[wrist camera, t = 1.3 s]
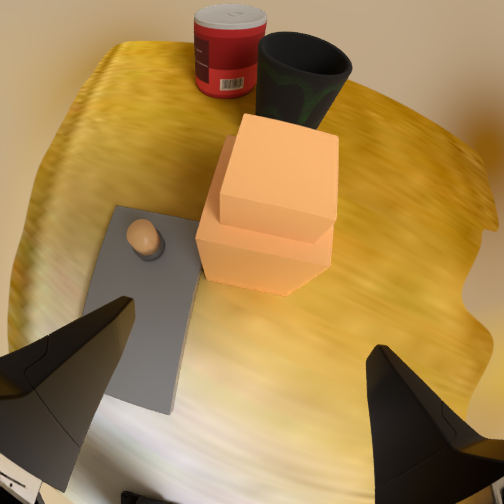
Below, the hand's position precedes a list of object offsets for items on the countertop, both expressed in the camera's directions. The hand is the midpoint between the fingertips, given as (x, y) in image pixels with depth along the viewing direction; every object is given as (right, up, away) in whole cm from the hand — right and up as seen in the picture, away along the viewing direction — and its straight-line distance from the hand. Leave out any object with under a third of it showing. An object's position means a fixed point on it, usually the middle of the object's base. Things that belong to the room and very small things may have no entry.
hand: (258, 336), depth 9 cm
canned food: (-4, +25, +22) cm, 33 cm away
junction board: (-10, -2, +12) cm, 16 cm away
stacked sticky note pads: (0, +3, +15) cm, 15 cm away
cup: (+3, +15, +19) cm, 24 cm away
